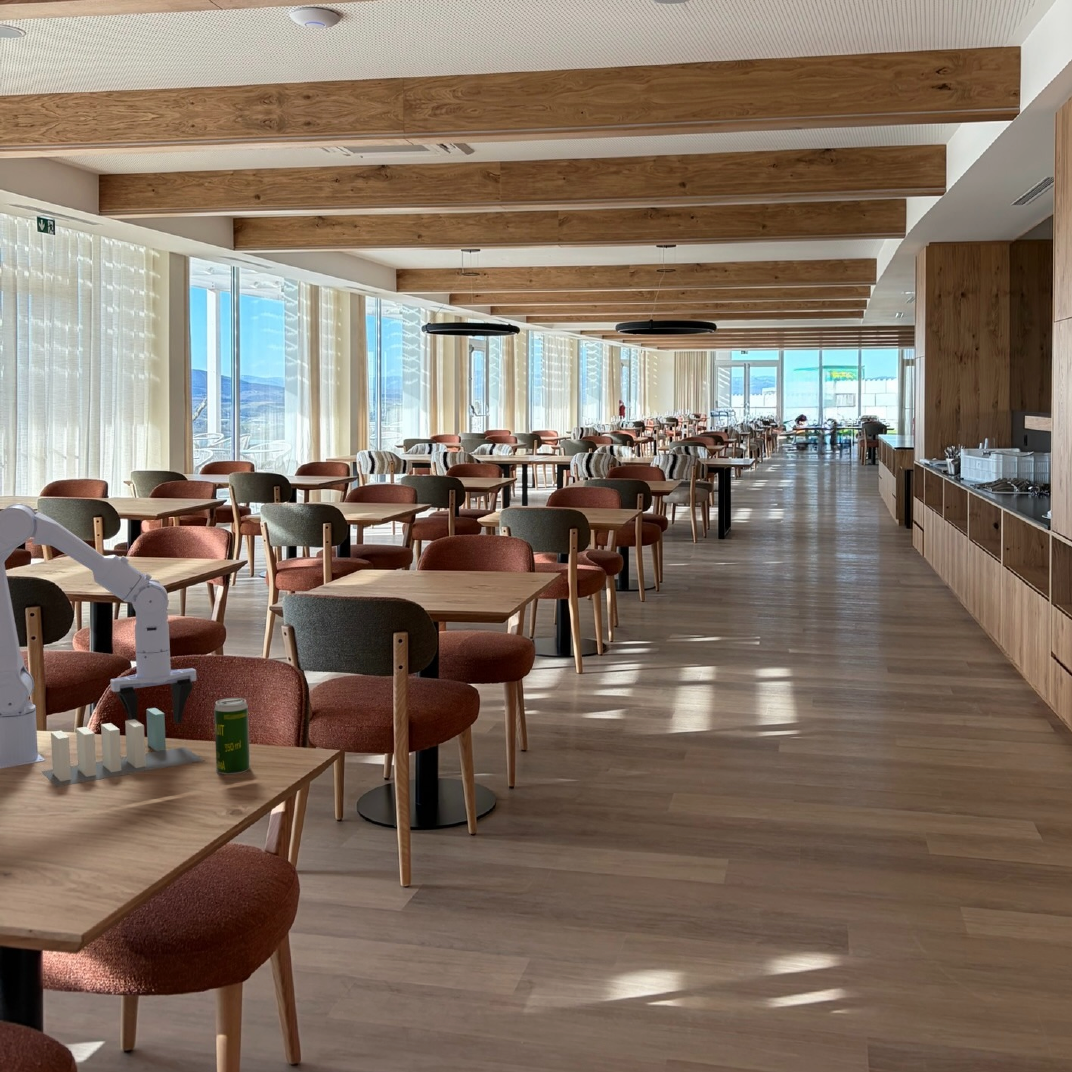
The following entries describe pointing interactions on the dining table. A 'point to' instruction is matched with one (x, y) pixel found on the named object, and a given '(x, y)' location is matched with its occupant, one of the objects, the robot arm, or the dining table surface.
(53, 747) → the ivory domino
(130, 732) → the ivory domino
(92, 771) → the ivory domino
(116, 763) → the ivory domino
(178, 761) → the charcoal mat
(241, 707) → the green drink can
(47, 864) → the dining table surface
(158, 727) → the teal domino
